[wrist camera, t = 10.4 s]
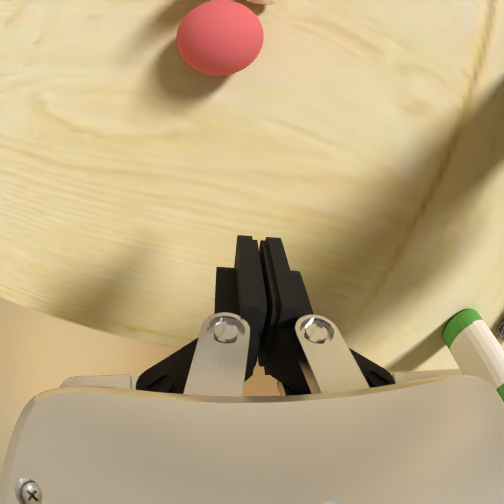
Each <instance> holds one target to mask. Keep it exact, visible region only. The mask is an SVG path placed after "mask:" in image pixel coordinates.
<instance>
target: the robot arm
mask: <svg viewBox="0 0 504 504" xmlns="http://www.w3.org/2000/svg"><path fill="white" fill-rule="evenodd" d="M257 356H258V361H259V366H264V370H265V375H271V376H272V377H274V378H275V379H277V380H278V381H277V386H278V390H279V393H280V396H247V397H246V396H242V395H243V387H244V382H245V381H246V380H247V379H248V378H250V377H251V376H252V374H253V369H254V366H255V365H256V361H257ZM0 504H504V402H503V400H502V398H501V397H500V395H499V394H498V392H497V391H496V389H495V388H494V387H493V385H492V384H491V383H489V382H488V381H487V380H484V379H482V378H479V377H476V376H470V375H445V376H444V375H443V376H439V375H434V374H417V373H402V372H394V373H393V374H392V375H391V374H390V373H389V372H388V371H387V370H385V369H384V368H382V367H380V366H379V365H377V364H375V363H374V362H372V361H370V360H368V359H367V358H365V357H363V356H362V355H360V354H358V353H357V352H355V351H353V350H352V349H350V348H348V346H347V344H346V343H345V341H344V339H343V337H342V335H341V334H340V332H339V330H338V328H337V327H336V325H335V324H334V323H333V322H332V321H330V320H329V319H327V318H325V317H323V316H319V315H314V314H313V311H312V308H311V305H310V302H309V299H308V295H307V292H306V289H305V286H304V283H303V280H302V277H301V274H300V272H299V271H290V268H289V265H288V261H287V258H286V254H285V251H284V247H283V244H282V241H281V238H272V237H266V240H265V241H263V240H261V242H260V247H259V249H258V243H257V240H252V236H242V235H238V236H237V245H236V255H235V265H234V268H226V267H217V271H216V290H215V313H214V315H211V316H209V317H208V318H207V319H206V320H205V321H204V323H203V325H202V328H201V332H200V335H199V337H198V338H197V339H195V340H194V341H192V342H191V343H189V344H188V345H186V346H184V347H183V348H181V349H180V350H178V351H177V352H175V353H173V354H172V355H170V356H169V357H167V358H166V359H164V360H162V361H161V362H159V363H157V364H156V365H154V366H153V367H151V368H149V369H148V370H146V371H145V372H144V373H142V374H141V375H140V376H138V377H131V376H130V374H122V375H102V376H75V377H70V378H68V379H67V380H65V381H64V382H63V383H62V384H61V386H60V388H56V389H51V390H48V391H45V392H42V393H40V394H38V395H36V396H34V397H33V398H32V399H31V400H30V401H29V402H28V404H27V405H26V406H25V407H24V409H23V411H22V413H21V415H20V416H19V419H18V421H17V423H16V425H15V428H14V430H13V433H12V436H11V439H10V442H9V446H8V449H7V453H6V456H5V460H4V464H3V469H2V474H1V480H0Z"/></svg>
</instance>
